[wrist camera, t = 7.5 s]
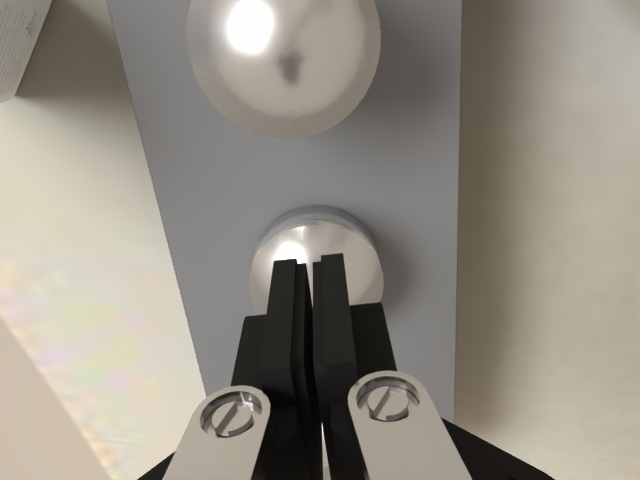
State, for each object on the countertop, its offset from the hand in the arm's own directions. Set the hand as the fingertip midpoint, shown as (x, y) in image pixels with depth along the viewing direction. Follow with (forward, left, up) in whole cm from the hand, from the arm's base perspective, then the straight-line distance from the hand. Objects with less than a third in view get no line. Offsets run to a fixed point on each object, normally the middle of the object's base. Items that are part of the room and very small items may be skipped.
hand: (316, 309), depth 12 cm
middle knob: (0, +3, -14) cm, 14 cm away
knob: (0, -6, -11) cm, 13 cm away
